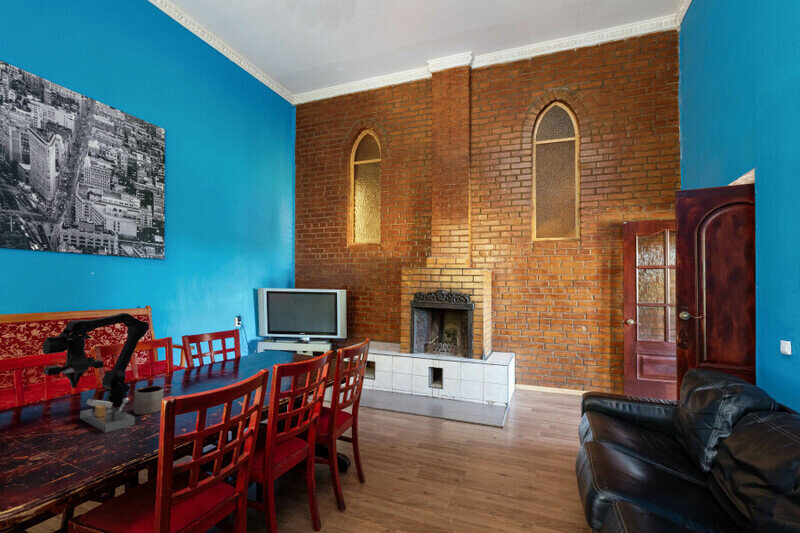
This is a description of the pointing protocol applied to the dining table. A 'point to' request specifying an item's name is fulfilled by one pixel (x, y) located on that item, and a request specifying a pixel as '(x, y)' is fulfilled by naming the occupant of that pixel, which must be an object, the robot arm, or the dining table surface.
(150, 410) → the planter
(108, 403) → the rocker
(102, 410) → the slider
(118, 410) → the toggle
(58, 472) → the dining table surface
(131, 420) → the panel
